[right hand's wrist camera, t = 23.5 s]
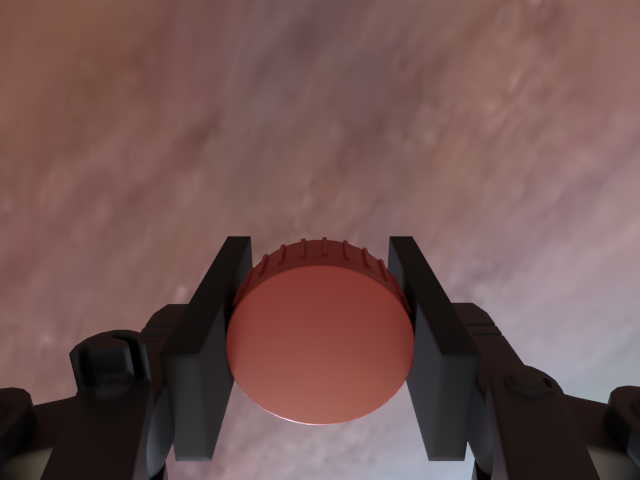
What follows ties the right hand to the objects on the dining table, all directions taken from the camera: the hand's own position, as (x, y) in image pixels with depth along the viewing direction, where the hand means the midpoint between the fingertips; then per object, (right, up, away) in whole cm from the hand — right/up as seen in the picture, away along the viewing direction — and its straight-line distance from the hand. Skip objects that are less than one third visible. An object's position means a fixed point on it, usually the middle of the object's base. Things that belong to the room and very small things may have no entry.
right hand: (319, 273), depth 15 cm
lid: (0, -1, -4) cm, 4 cm away
